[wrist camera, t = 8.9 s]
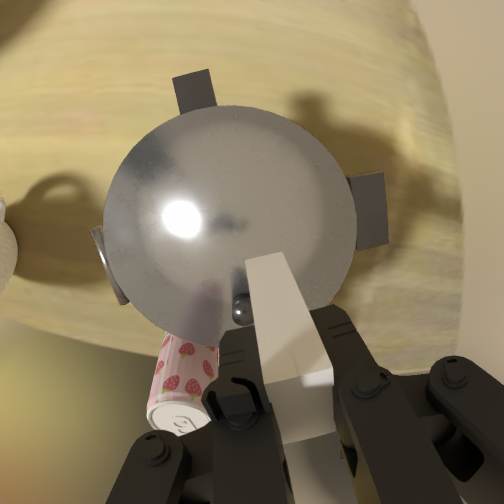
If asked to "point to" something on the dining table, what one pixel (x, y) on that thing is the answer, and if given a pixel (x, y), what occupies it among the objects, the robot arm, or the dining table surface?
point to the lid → (231, 218)
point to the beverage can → (181, 385)
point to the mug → (6, 248)
